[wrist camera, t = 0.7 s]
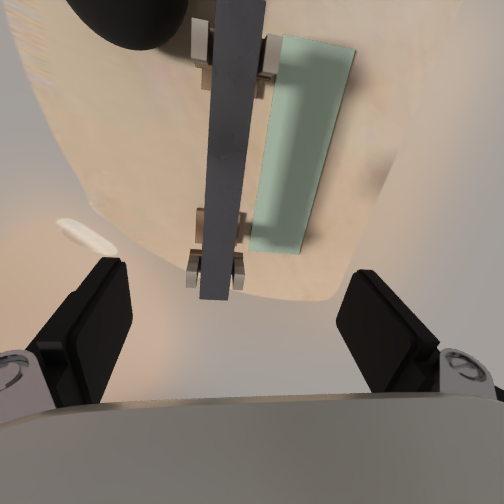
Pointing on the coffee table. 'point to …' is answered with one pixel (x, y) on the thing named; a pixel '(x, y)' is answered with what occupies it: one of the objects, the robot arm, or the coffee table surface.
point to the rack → (204, 59)
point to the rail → (228, 136)
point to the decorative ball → (132, 20)
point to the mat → (297, 140)
